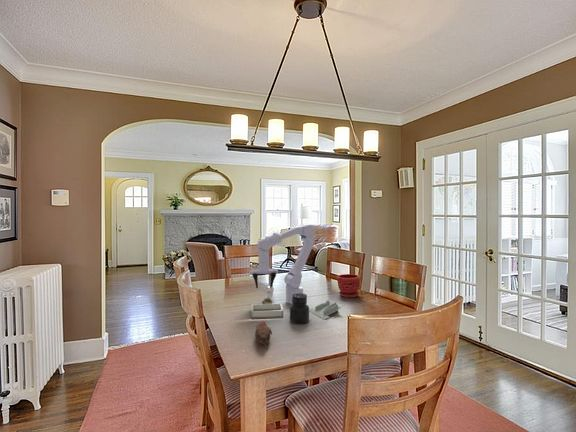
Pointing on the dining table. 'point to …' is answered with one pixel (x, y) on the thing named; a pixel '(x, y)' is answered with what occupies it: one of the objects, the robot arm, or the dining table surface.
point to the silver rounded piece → (268, 295)
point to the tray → (267, 313)
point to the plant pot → (348, 285)
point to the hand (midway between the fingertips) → (264, 287)
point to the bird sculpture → (263, 333)
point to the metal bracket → (325, 309)
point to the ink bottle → (299, 309)
